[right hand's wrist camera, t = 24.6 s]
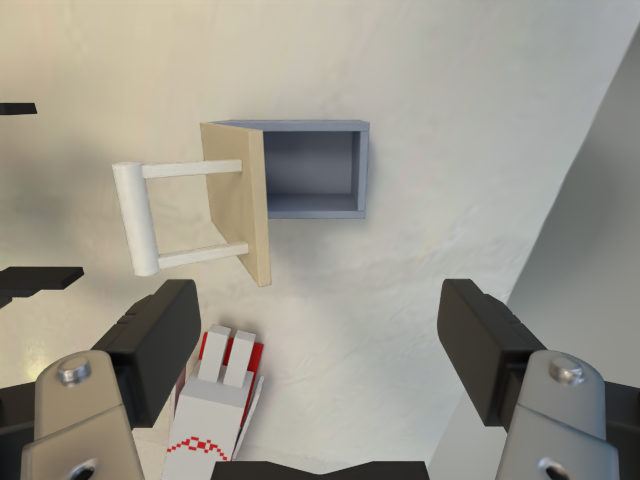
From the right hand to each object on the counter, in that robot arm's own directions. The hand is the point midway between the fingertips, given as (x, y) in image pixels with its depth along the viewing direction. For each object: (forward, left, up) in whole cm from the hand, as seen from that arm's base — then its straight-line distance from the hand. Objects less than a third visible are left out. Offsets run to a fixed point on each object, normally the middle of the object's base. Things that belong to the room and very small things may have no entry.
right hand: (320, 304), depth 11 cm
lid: (-4, -6, -18) cm, 19 cm away
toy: (+20, -36, -35) cm, 54 cm away
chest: (-2, -2, -35) cm, 35 cm away
